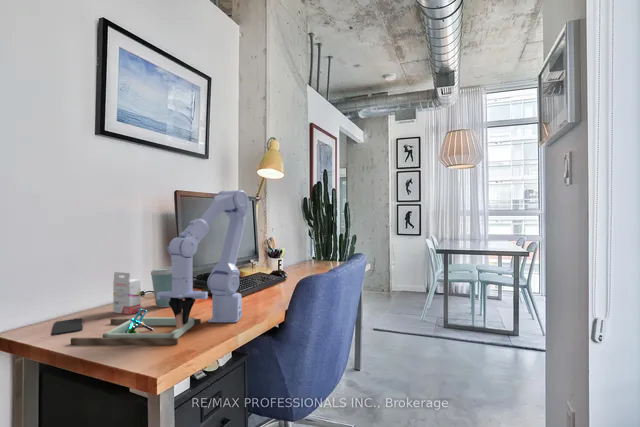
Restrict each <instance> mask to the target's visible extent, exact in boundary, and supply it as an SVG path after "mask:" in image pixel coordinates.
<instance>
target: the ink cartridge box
mask: <svg viewBox="0 0 640 427" xmlns="http://www.w3.org/2000/svg"><path fill="white" fill-rule="evenodd" d="M121 276H122V277H121ZM130 276H131V275H130V272H120V271H119V272H118V271H114V273H113V282H112V283H113V284H112V285H113V289H112V291H113V294H112V295H113V300H112V301H113V302H112V303H113V304H112V306H113V311H112V312H113V313H115V314H121V315H123V314H124V315H129V316H130V315H132V314H137V313H138V312H139V310H140V309H142V308H141V306H142V305H141V279H138V278H137V279H135V278H131V277H130Z"/></svg>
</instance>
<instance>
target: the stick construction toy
mask: <svg viewBox="0 0 640 427" xmlns="http://www.w3.org/2000/svg"><path fill="white" fill-rule="evenodd" d="M141 311H142V312H144V313H143V314H142V313H141ZM147 313H148V310H146V309H143V308H141V309H140V310H139V312H136V315H135V316H134V317H135V318H134V317H133V318H134V319H133V318H130V319H131V320H130V321H132V322H131V324H130V325H129V327H128V328H127V330H126V331H125V332H124V333H140V332H139V331H136V329H137V327H140V328H142V327H143V328H145V329H147V330H149V331H154V328H152V327H151V326H150V325H145V324H144V323H143V322H141V320H142V318H143V317H145V315H146V314H147ZM139 316H140V319H139V321H137V320H136V318H137V317H139ZM133 323H136V324H135V325H133ZM132 325H133V326H132ZM131 326H132V327H131ZM128 329H129V330H128Z"/></svg>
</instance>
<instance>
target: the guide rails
mask: <svg viewBox="0 0 640 427" xmlns="http://www.w3.org/2000/svg"><path fill="white" fill-rule="evenodd" d="M131 319H132V318H111V319H110V325H121V324H123V323H125V322H127V321H129V320H131ZM201 321H202V320H201V318H194V325H193V326H195V325H196V326H199V325H202V322H201ZM178 340H179V338H103V337H71V338H70V345H76V346H77V345H79V346H80V345H81V346H82V345H93V346H95V345H99V346H100V345H103V346H105V345H108V346H109V345H110V346H112V345H113V346H114V345H115V346H116V345H117V346H121V345H122V346H129V345H131V346H134V345H135V346H138V345H139V346H144V345H145V346H150V345H151V346H152V345H153V346H163V345H164V346H177V345H178V343H179V341H178Z"/></svg>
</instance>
